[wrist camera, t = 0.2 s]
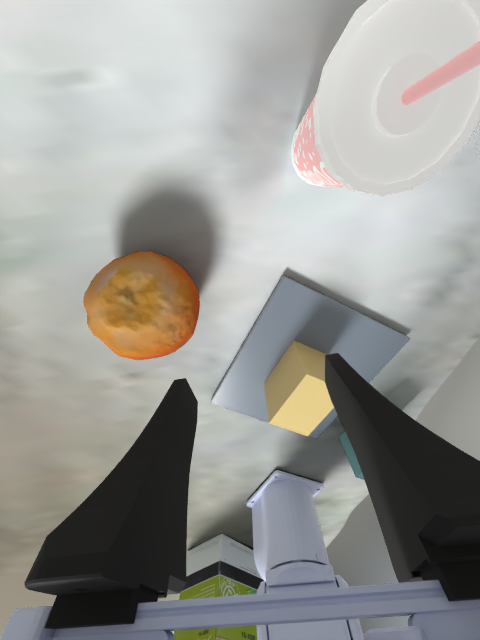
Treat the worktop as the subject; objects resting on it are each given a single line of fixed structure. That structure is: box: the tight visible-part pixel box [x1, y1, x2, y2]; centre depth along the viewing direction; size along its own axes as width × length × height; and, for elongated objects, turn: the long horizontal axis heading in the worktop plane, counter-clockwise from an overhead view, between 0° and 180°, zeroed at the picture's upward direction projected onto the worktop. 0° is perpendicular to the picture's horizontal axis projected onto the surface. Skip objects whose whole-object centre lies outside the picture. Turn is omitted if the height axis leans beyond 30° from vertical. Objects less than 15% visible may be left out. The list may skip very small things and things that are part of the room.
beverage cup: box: [291, 0, 480, 196], centre depth 10 cm, size 6×6×14 cm
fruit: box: [84, 251, 200, 360], centre depth 19 cm, size 8×8×8 cm
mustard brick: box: [264, 340, 334, 436], centre depth 22 cm, size 6×4×5 cm, turn 154°
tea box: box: [174, 534, 264, 640], centre depth 38 cm, size 15×10×15 cm, turn 45°
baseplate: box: [211, 275, 410, 439], centre depth 25 cm, size 16×14×1 cm
